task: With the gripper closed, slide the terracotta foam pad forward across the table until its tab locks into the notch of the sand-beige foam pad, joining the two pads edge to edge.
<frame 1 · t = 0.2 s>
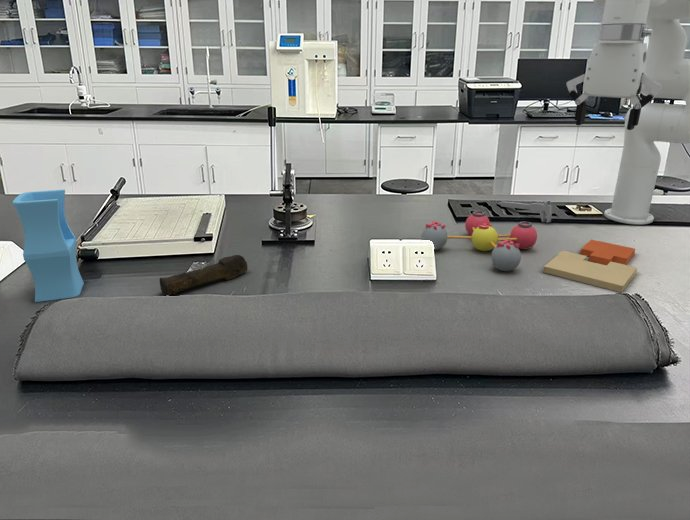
hand: (604, 126, 108), 31 cm above the countertop, tool pointing down, fingers open, 9 cm apart
caliper: (522, 214, 155), on the countertop
hand tool: (206, 284, 112), on the countertop
molecule model: (483, 251, 129), on the countertop
notch pad: (589, 273, 116), on the countertop
vase: (61, 291, 108), on the countertop
tab pad: (607, 254, 126), on the countertop
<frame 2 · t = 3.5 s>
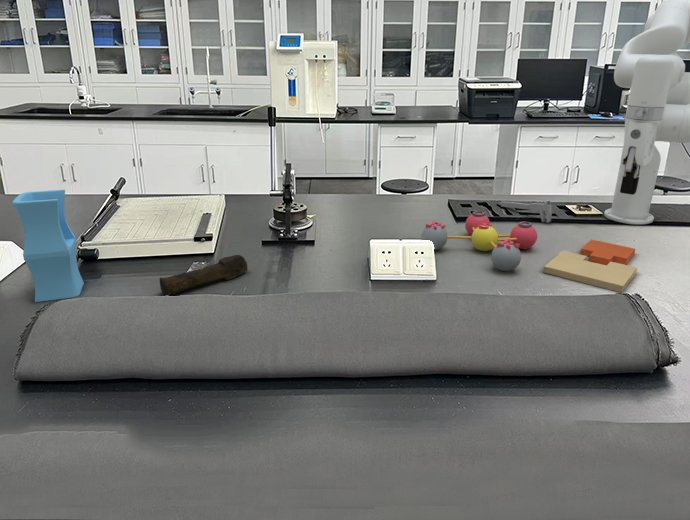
hand: (627, 193, 127), 13 cm above the countertop, tool pointing down, fingers closed
nothing on the countertop moved.
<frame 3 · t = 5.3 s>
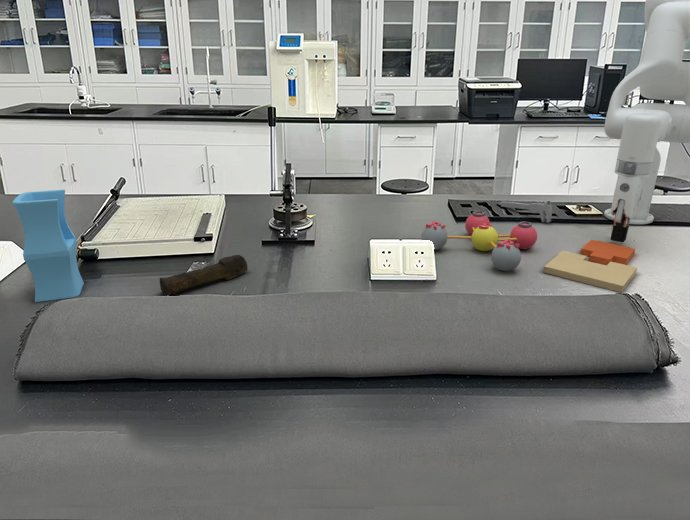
hand: (617, 240, 132), 1 cm above the countertop, tool pointing down, fingers closed
nothing on the countertop moved.
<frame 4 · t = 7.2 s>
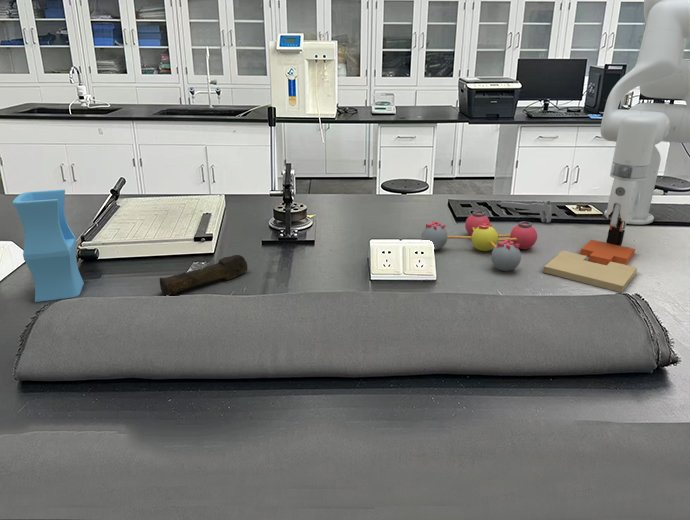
hand: (613, 244, 129), 1 cm above the countertop, tool pointing down, fingers closed
tab pad: (607, 254, 126), on the countertop, touching gripper
everything else where it was.
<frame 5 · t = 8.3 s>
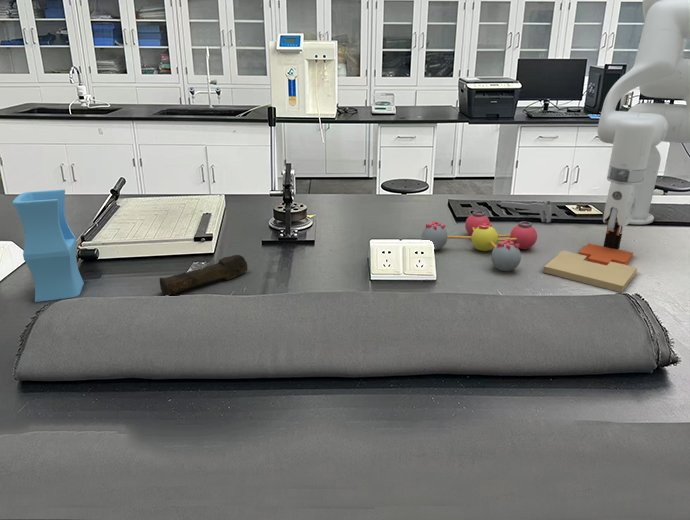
hand: (611, 248, 128), 1 cm above the countertop, tool pointing down, fingers closed
tab pad: (604, 258, 125), on the countertop, touching gripper
everything else where it was.
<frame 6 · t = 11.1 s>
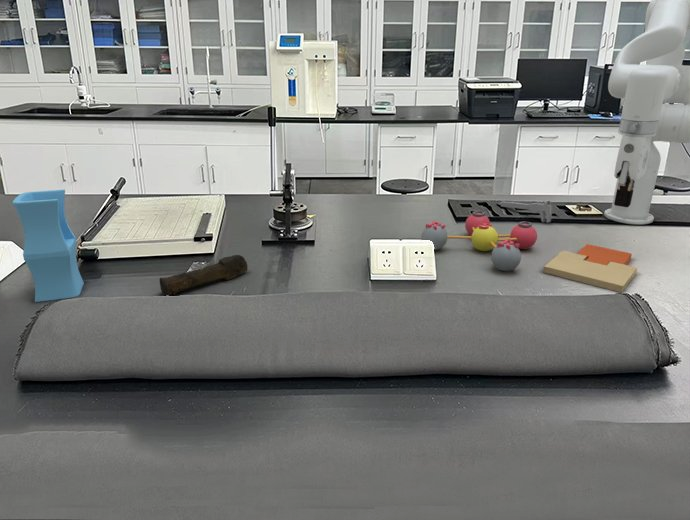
hand: (622, 205, 126), 11 cm above the countertop, tool pointing down, fingers closed
tab pad: (603, 259, 123), on the countertop
everything else where it was.
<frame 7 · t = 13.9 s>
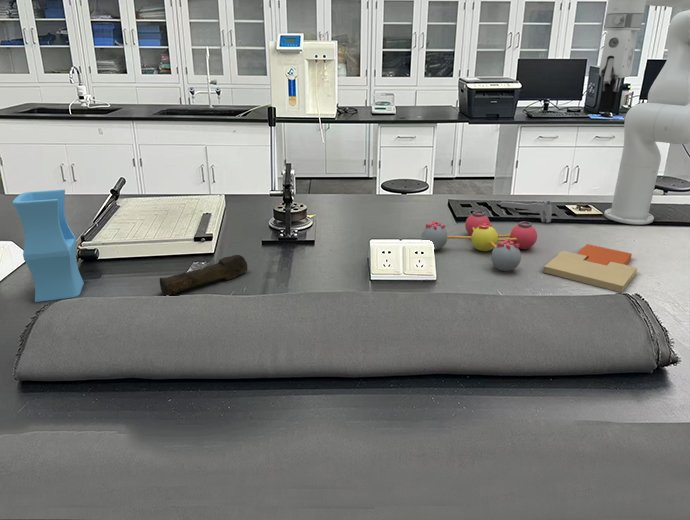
hand: (607, 108, 125), 32 cm above the countertop, tool pointing down, fingers closed
nothing on the countertop moved.
at the end: tab pad 0.2 cm from the target spot on the countertop beside the notch pad, on the countertop; tab pad moved 3.9 cm from its start; tab pad tilted 0° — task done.
